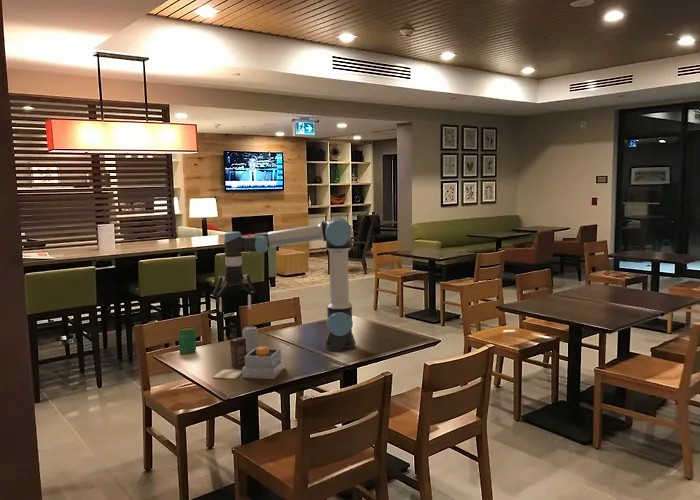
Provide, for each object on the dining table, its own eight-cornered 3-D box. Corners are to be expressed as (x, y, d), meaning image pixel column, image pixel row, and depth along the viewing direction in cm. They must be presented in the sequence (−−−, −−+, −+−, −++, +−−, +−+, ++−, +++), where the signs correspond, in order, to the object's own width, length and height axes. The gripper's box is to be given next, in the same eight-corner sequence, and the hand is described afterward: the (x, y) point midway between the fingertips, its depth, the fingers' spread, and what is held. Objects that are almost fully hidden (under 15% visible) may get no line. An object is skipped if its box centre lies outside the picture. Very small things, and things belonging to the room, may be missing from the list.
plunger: (271, 354, 245) (271, 346, 245) (267, 358, 240) (266, 350, 240) (259, 353, 247) (258, 345, 246) (254, 357, 241) (254, 349, 241)
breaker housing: (284, 368, 250) (283, 348, 249) (273, 379, 236) (273, 358, 235) (254, 366, 252) (253, 347, 251) (242, 377, 239) (241, 356, 238)
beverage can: (199, 350, 279) (198, 327, 277) (188, 355, 272) (187, 331, 270) (187, 349, 282) (185, 325, 281) (175, 353, 275) (174, 329, 274)
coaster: (244, 371, 246) (244, 370, 246) (235, 379, 236) (235, 378, 236) (222, 370, 248) (222, 369, 248) (212, 378, 238) (212, 377, 238)
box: (241, 362, 260) (240, 336, 258) (247, 364, 257) (246, 338, 255) (230, 365, 255) (229, 339, 254) (237, 367, 252) (235, 341, 251)
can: (255, 354, 271) (254, 329, 270) (241, 353, 273) (239, 329, 271) (261, 349, 279) (260, 326, 277) (246, 349, 280) (245, 325, 279)
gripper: (258, 262, 269) (260, 306, 271) (205, 265, 260) (207, 310, 262) (262, 264, 262) (263, 309, 264) (207, 268, 253) (209, 314, 255)
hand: (235, 310), depth 263 cm, fingers open, 13 cm apart
